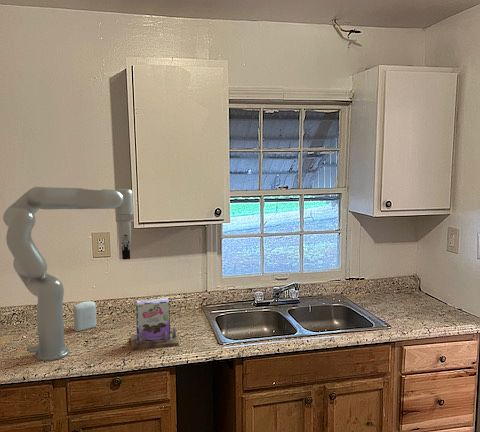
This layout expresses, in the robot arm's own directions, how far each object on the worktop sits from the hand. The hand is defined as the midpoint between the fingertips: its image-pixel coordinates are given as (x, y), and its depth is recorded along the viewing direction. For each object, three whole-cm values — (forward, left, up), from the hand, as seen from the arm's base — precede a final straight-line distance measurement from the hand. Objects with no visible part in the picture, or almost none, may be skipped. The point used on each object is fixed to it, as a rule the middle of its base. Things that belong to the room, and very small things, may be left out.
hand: (126, 257), depth 212 cm
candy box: (+10, -13, -33) cm, 37 cm away
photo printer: (-19, +12, -35) cm, 41 cm away
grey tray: (+10, -13, -34) cm, 38 cm away
